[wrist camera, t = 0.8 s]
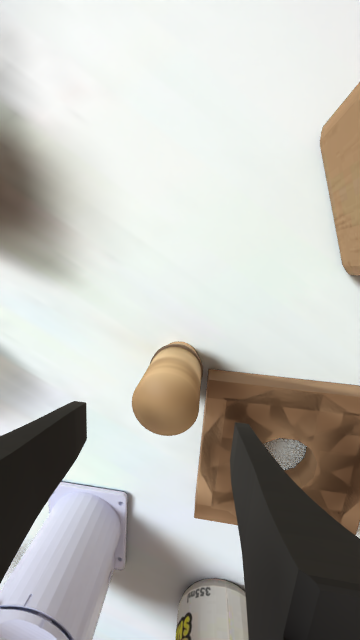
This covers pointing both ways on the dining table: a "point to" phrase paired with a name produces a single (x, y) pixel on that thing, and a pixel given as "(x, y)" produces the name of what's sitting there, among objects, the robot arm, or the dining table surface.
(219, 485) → the board
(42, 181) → the dining table surface
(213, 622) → the beverage can
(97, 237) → the dining table surface
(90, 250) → the dining table surface
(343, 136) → the wooden block
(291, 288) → the dining table surface
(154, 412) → the peg
